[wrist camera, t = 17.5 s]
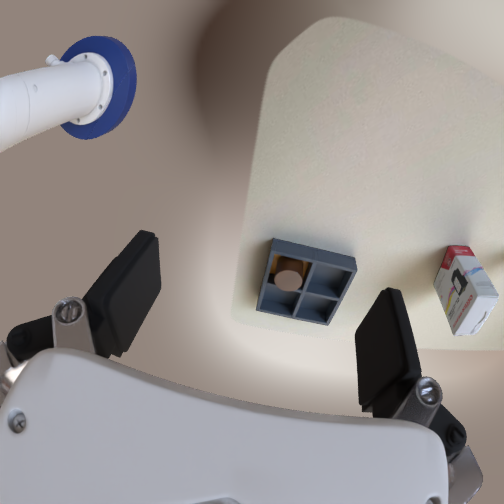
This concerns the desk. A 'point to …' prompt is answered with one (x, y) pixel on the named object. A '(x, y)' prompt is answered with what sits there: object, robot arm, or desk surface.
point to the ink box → (464, 291)
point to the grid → (307, 283)
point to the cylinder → (288, 273)
